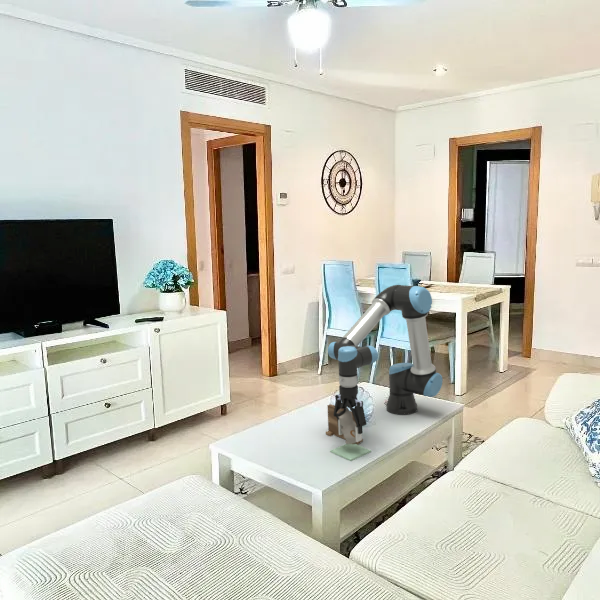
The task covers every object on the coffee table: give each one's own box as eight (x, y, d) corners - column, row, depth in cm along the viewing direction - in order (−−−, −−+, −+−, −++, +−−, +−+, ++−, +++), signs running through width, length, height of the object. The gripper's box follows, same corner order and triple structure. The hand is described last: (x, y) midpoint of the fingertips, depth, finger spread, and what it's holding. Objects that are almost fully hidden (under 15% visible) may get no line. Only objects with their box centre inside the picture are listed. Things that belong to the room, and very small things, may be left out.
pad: (350, 443, 231) (350, 441, 231) (371, 451, 222) (371, 450, 222) (330, 451, 224) (330, 450, 224) (350, 461, 215) (350, 459, 215)
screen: (334, 430, 246) (333, 403, 244) (363, 441, 232) (362, 413, 230) (325, 434, 242) (324, 406, 240) (353, 446, 229) (353, 416, 227)
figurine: (345, 436, 229) (344, 403, 227) (365, 442, 223) (365, 407, 220) (333, 443, 223) (332, 409, 220) (354, 449, 216) (353, 414, 214)
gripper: (323, 381, 225) (325, 432, 228) (361, 393, 208) (363, 448, 211) (336, 377, 229) (338, 427, 233) (374, 388, 213) (376, 442, 216)
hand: (350, 437), depth 222 cm, fingers closed on figurine, 9 cm apart
